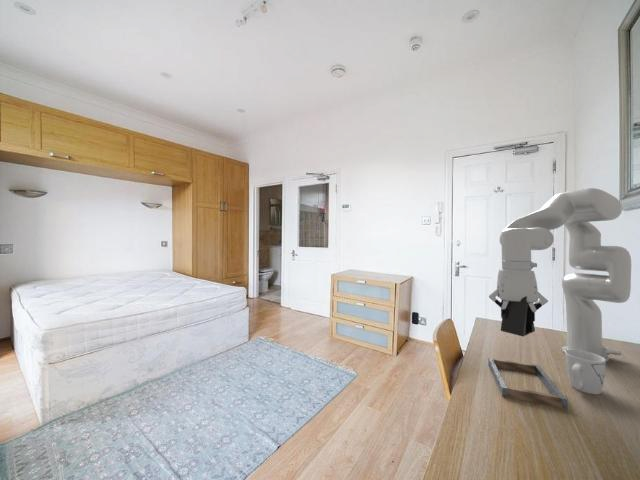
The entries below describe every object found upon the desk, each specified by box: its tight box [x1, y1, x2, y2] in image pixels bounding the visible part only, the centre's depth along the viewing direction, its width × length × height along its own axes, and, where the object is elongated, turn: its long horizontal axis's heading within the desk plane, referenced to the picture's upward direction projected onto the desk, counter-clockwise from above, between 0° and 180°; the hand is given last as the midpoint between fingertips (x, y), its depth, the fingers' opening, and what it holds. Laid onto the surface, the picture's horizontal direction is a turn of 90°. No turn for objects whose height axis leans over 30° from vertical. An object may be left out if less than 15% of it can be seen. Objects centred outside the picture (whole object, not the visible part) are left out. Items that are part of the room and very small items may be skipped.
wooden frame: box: [487, 357, 569, 410], centre depth 79 cm, size 14×20×2 cm
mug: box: [564, 350, 607, 395], centre depth 75 cm, size 11×8×10 cm
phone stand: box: [500, 296, 536, 337], centre depth 81 cm, size 9×6×12 cm, turn 121°
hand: (517, 321), depth 81 cm, fingers closed on phone stand, 5 cm apart
